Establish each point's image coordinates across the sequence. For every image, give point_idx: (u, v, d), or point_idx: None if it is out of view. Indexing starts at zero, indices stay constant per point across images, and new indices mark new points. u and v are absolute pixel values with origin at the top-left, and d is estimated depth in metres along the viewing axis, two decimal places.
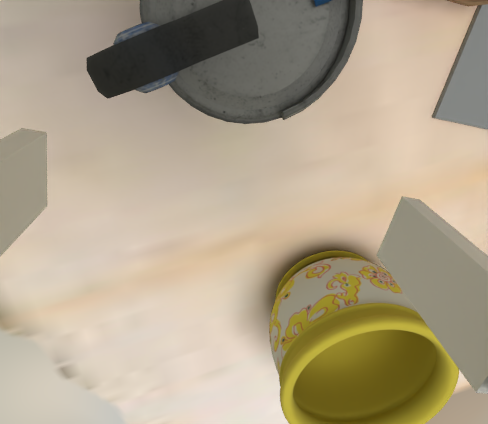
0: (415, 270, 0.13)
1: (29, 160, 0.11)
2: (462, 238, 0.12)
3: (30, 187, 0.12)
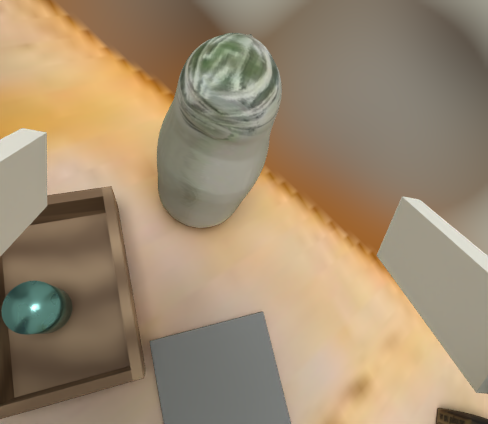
0: (415, 270, 0.13)
1: (29, 160, 0.11)
2: (462, 238, 0.12)
3: (30, 187, 0.12)
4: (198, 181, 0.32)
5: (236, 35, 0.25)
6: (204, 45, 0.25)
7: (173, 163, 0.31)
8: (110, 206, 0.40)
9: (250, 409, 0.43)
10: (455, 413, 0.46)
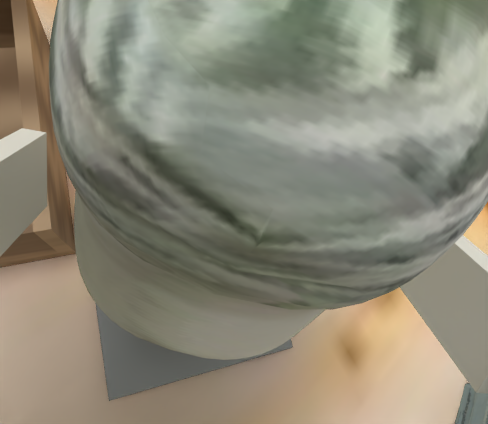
0: None
1: (29, 160, 0.11)
2: (462, 238, 0.12)
3: (30, 187, 0.12)
4: (173, 340, 0.12)
5: None
6: None
7: (103, 296, 0.11)
8: (19, 1, 0.27)
9: None
10: None
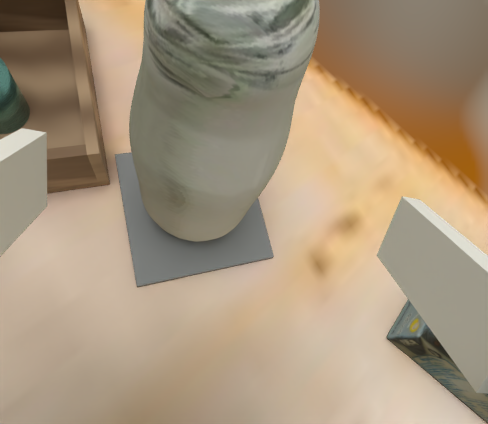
0: (415, 270, 0.13)
1: (29, 160, 0.11)
2: (462, 238, 0.12)
3: (30, 187, 0.12)
4: (187, 174, 0.21)
5: None
6: None
7: (148, 147, 0.21)
8: None
9: None
10: None
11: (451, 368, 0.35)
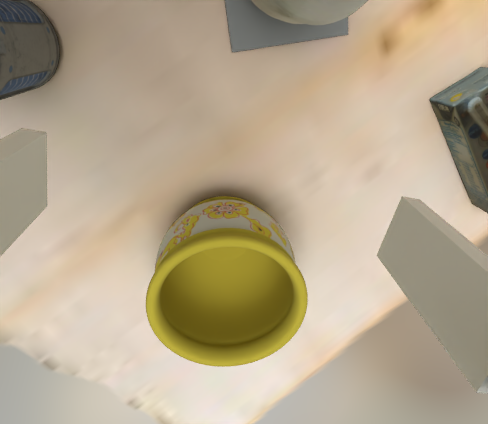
0: (415, 269, 0.13)
1: (29, 160, 0.11)
2: (462, 238, 0.12)
3: (30, 187, 0.12)
4: (296, 9, 0.27)
5: None
6: None
7: None
8: None
9: None
10: None
11: (461, 135, 0.47)
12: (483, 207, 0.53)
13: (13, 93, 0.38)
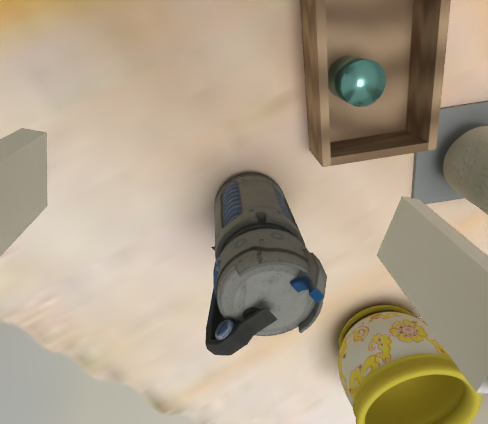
0: (415, 269, 0.13)
1: (29, 160, 0.11)
2: (462, 238, 0.12)
3: (30, 187, 0.12)
4: None
5: None
6: None
7: None
8: None
9: None
10: None
11: None
12: None
13: None
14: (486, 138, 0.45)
